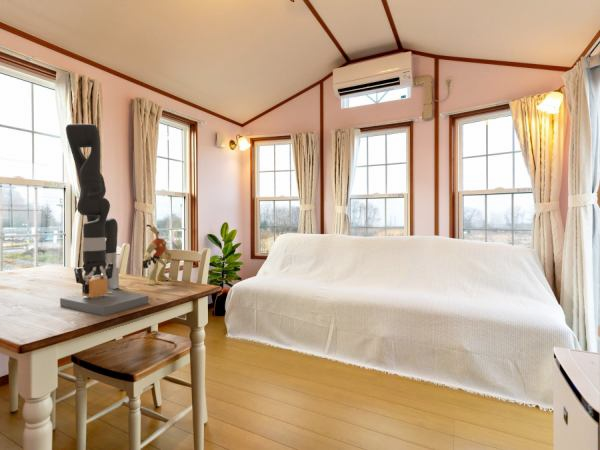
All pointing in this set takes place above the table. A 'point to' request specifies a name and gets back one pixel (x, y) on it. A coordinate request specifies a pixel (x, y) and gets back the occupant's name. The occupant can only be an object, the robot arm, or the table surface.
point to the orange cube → (97, 287)
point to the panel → (105, 302)
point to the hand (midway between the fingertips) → (95, 291)
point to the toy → (156, 258)
